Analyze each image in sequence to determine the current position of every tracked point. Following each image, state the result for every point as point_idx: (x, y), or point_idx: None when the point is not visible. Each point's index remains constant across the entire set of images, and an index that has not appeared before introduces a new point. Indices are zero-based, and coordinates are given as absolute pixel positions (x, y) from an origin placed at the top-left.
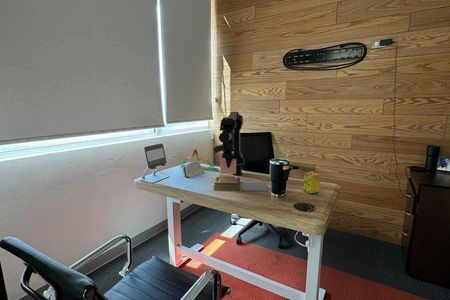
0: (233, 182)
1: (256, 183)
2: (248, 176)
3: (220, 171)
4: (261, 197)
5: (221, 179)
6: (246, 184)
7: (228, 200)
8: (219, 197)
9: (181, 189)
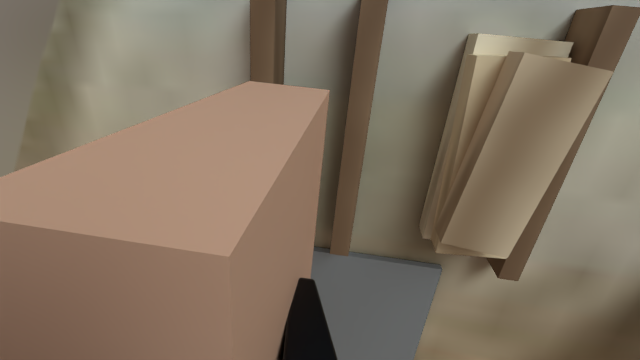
0: (430, 201)
1: (391, 347)
2: (612, 337)
3: (235, 88)
4: None
5: (470, 83)
6: (377, 286)
7: (56, 117)
8: (93, 44)
9: None
